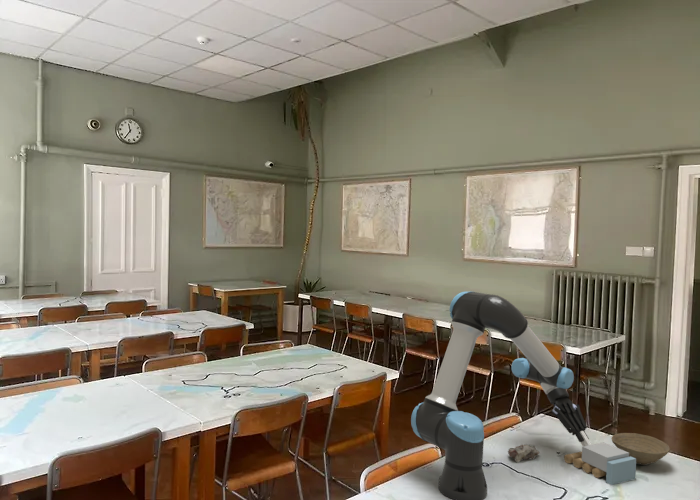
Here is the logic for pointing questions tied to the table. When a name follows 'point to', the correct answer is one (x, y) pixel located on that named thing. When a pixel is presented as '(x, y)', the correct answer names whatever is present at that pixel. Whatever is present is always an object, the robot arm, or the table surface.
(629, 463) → the fence
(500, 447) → the table surface
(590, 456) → the slab
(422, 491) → the table surface
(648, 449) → the bowl
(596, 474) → the roller bed
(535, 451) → the mineral rock
